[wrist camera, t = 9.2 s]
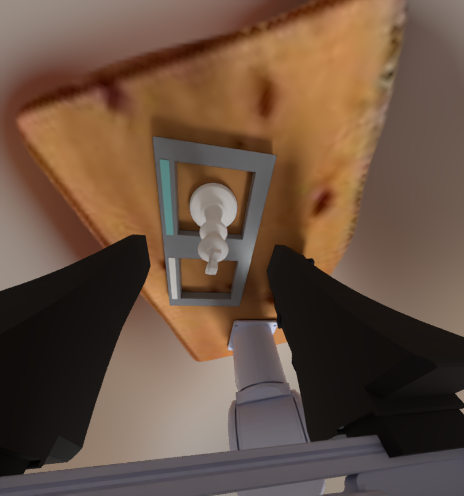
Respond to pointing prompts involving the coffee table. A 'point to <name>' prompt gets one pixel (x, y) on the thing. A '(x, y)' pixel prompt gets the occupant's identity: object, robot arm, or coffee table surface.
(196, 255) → the port panel
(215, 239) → the chess piece
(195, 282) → the coffee table surface
